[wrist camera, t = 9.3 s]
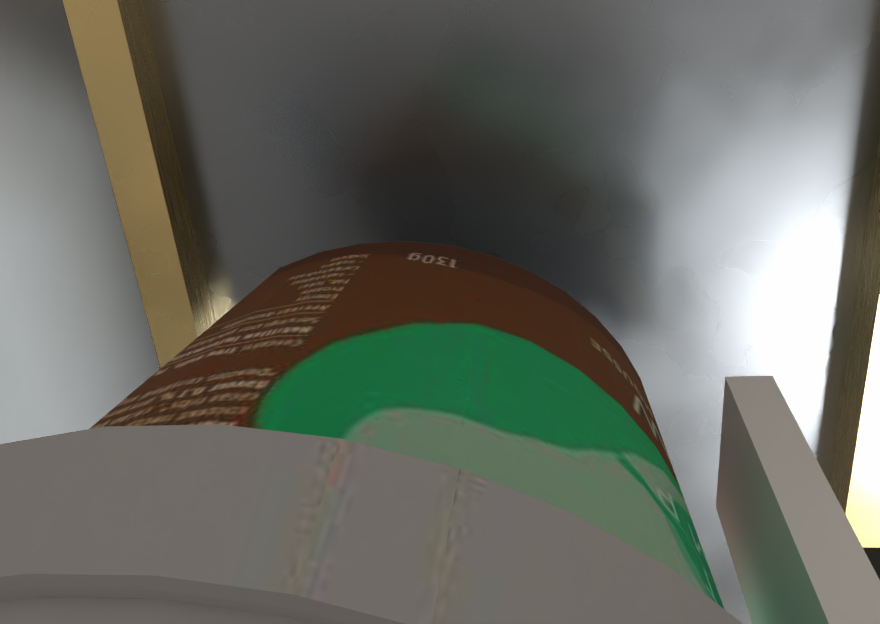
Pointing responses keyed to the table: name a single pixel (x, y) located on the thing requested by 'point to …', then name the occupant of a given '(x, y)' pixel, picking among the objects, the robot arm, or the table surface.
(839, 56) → the grey flat box
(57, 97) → the table surface
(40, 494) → the food container
